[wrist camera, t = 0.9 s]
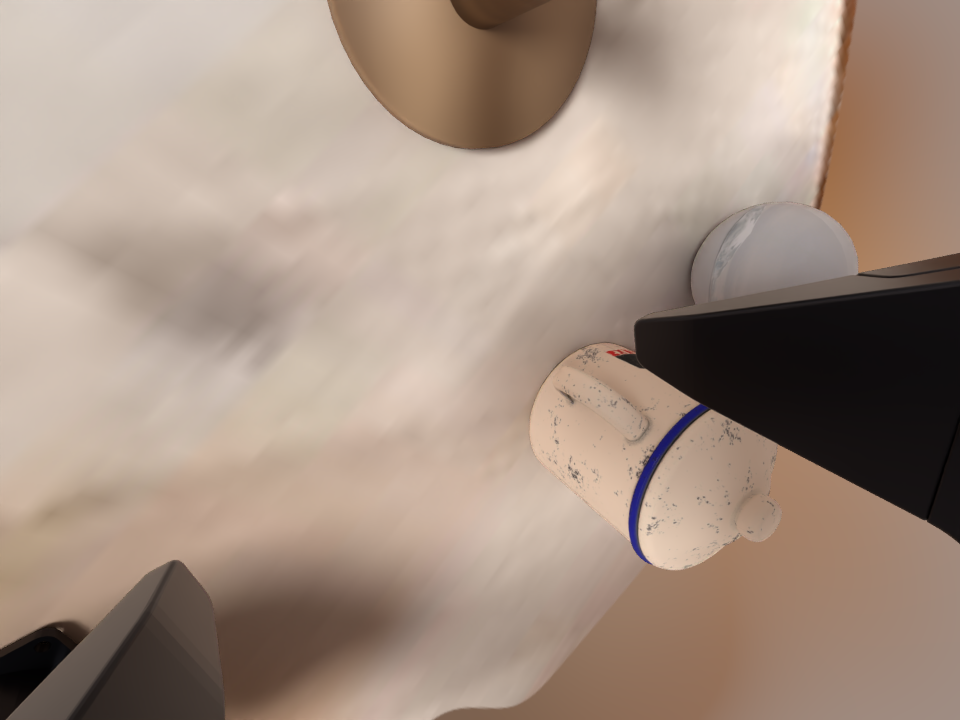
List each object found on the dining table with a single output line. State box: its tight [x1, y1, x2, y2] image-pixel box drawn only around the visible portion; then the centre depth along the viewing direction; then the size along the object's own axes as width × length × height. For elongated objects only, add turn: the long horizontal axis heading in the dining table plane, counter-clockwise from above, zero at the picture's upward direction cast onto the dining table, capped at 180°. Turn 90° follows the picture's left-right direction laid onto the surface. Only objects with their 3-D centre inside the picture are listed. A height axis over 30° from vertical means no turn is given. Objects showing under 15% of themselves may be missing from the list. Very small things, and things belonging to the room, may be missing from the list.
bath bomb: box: [691, 202, 858, 305], centre depth 27 cm, size 8×8×8 cm
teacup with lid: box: [529, 343, 782, 570], centre depth 24 cm, size 12×9×12 cm
